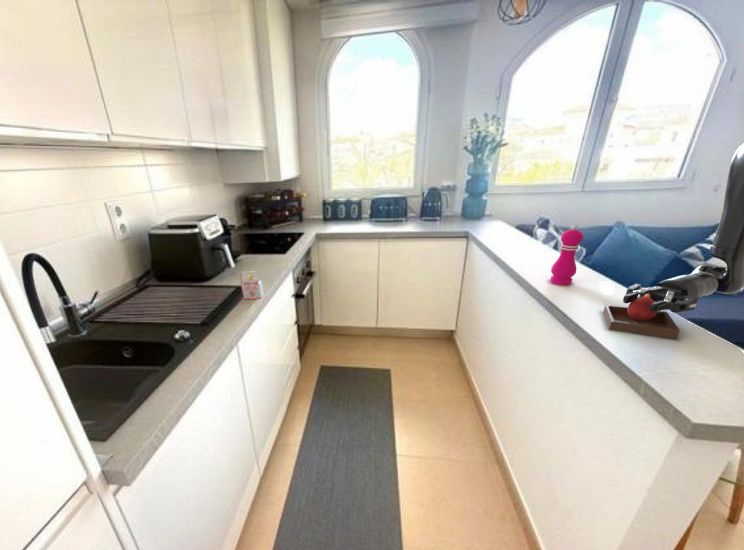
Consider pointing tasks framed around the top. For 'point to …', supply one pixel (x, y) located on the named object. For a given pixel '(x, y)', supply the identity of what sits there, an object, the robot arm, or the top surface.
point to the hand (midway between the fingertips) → (638, 303)
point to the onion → (641, 309)
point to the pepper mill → (566, 257)
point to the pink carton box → (251, 285)
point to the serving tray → (640, 323)
